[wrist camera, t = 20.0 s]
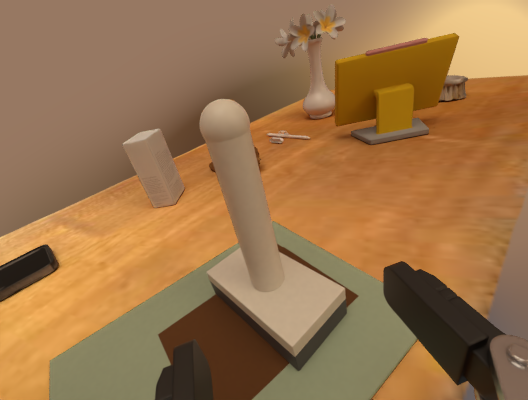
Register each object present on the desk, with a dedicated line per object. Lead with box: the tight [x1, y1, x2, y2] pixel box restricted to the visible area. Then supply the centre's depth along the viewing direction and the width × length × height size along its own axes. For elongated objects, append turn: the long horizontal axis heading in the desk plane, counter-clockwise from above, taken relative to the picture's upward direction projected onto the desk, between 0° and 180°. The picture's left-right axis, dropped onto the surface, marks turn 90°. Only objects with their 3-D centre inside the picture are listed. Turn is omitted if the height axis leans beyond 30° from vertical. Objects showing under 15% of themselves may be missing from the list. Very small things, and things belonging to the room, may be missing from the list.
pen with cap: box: [267, 131, 310, 143], centre depth 64 cm, size 14×4×2 cm, turn 45°
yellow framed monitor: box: [335, 33, 459, 145], centre depth 50 cm, size 20×8×16 cm, turn 90°
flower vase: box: [275, 5, 346, 119], centre depth 70 cm, size 13×18×25 cm
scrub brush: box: [200, 99, 347, 371], centre depth 20 cm, size 11×6×18 cm, turn 43°
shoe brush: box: [439, 76, 468, 101], centre depth 70 cm, size 24×8×5 cm, turn 39°
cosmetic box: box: [122, 129, 185, 208], centre depth 46 cm, size 6×4×12 cm
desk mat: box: [49, 221, 417, 400], centre depth 22 cm, size 20×26×1 cm
